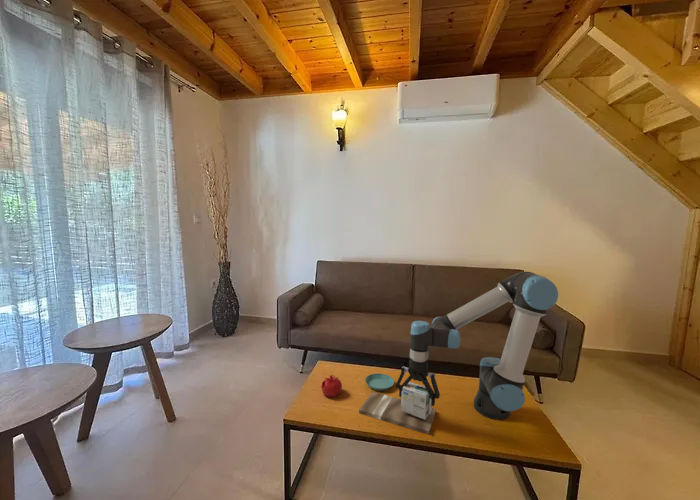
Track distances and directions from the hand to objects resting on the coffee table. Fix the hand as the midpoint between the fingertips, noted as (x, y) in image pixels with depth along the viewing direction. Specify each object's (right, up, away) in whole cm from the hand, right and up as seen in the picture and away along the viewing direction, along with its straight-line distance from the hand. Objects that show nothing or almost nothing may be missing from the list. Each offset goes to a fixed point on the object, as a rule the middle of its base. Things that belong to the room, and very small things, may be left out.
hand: (416, 408), depth 131 cm
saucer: (-13, -2, +26) cm, 30 cm away
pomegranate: (-37, -2, +18) cm, 41 cm away
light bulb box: (0, -2, 0) cm, 2 cm away
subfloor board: (-7, -4, +4) cm, 9 cm away
